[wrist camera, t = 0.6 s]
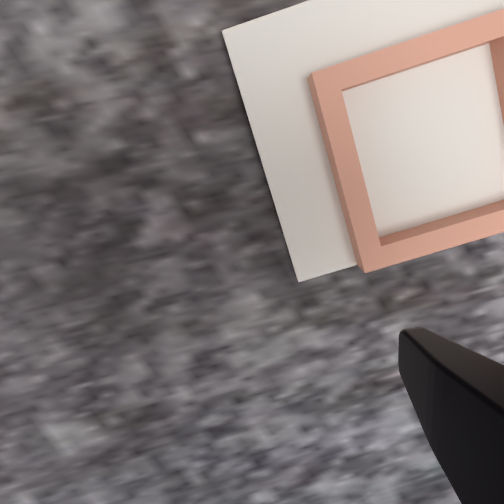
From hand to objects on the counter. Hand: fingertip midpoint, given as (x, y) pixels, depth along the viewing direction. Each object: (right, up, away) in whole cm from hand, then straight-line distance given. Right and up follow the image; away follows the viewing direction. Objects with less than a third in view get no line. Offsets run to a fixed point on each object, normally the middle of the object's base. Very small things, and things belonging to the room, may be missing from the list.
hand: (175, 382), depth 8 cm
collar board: (+8, +9, +12) cm, 17 cm away
